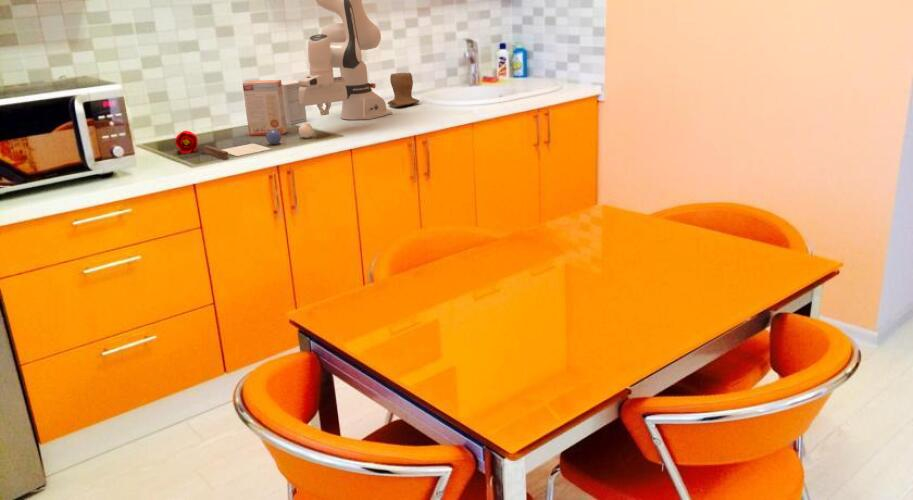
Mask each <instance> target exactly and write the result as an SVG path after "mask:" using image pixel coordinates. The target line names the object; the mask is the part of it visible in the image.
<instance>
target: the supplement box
mask: <svg viewBox="0 0 913 500" xmlns="http://www.w3.org/2000/svg"><path fill="white" fill-rule="evenodd" d="M281 84H282V92H283V100H284V109H285V117H286V126H287V125H288V126H290V125H294V124H295V125H296V124H299V123H305V122H307V112H306V110H307V109H306V106H302V105H300V103H299V98H298V90H299V87H300V86H301V85H299V80H294V79H289V80H281Z"/></svg>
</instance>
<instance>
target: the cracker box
mask: <svg viewBox="0 0 913 500" xmlns="http://www.w3.org/2000/svg"><path fill="white" fill-rule="evenodd" d="M281 81H282V79H267V80H265V79H263V80H247V81H246V80H245V82H242V91H243V97H244V105H245V112H246V113H245V114H246V122H247V127H248V134H249V136H266V135H267V133H268V131H270V130H277V131H279V132H280V134H281V136H283V135H284V134H286V133H287V132H288V127H287V124H286V117H285V109H284V100H283V92H282V84H281Z"/></svg>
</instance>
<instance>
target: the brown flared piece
mask: <svg viewBox="0 0 913 500" xmlns="http://www.w3.org/2000/svg"><path fill="white" fill-rule="evenodd" d="M389 77H390V78H389V79H390V80H389V81H390V84H391V87H392V90H393V91H392V92H393V94H394V98H393V99H390V100H389V101H388V102H387V104H388V106H390V107H391V108H395V109H396V108H400V107H401V108H402V107H406V106H410V105H414V104H417V103H419V102H420V100H419V99H418V98H414V97H413V95H412V93H413V92H412V91H413V87H414V86H413V85H414V81H413V75H412V73H411V72H395V73H391V74H390V76H389Z"/></svg>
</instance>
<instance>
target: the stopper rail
mask: <svg viewBox="0 0 913 500" xmlns="http://www.w3.org/2000/svg"><path fill="white" fill-rule="evenodd" d="M203 151H204V152H203V153H204V154H206V155H209V156H213V157H216V158H218V159H222V160H225V161H226V160H229V159H230V157H229V154H228V152H226V151H223V150H222V149H220V148H216V147H214V146H210V145H203Z"/></svg>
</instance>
